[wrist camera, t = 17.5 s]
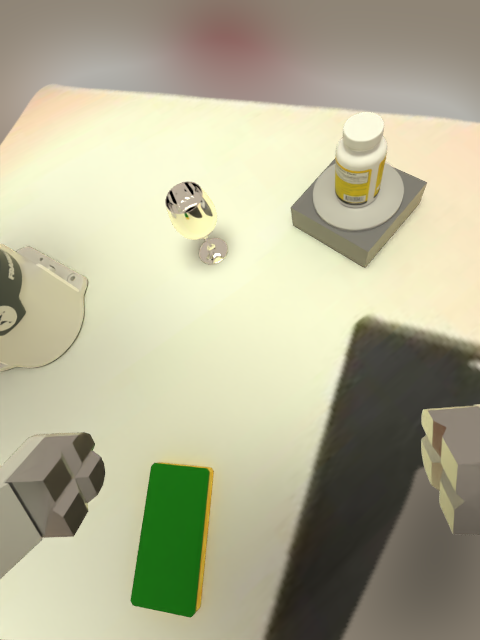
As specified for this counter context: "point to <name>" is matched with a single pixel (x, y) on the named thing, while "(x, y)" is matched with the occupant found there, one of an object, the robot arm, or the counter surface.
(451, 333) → the counter surface
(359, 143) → the supplement bottle
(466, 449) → the robot arm
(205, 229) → the wineglass
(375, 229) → the kitchen scale
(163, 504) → the dish sponge
